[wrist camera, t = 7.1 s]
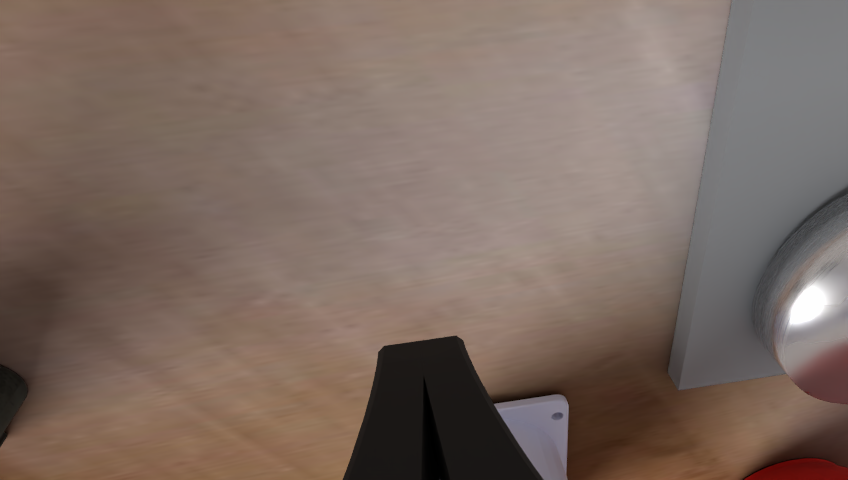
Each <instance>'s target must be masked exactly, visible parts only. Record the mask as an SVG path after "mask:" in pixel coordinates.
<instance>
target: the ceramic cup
mask: <svg viewBox="0 0 848 480" xmlns="http://www.w3.org/2000/svg"><path fill="white" fill-rule="evenodd" d="M744 480H848V468H846V467H842V466H838V465H836V464H834V463H833V462H830V461H827V460H823V459H817V458H804V459H796V460H790V461H786V462H782V463H778V464H775V465H772V466H769V467H767V468H764V469H762V470H760V471H758V472H756V473H754V474H752V475H751V476H749V477H747V478H746V479H744Z"/></svg>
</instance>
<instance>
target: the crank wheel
mask: <svg viewBox="0 0 848 480" xmlns="http://www.w3.org/2000/svg"><path fill="white" fill-rule="evenodd" d="M752 323H753V328H754V331H755V334H756V336H757V338H758V339H759V341H760V343H761V344H762V345H763V346H764V348H765V349H766V350H767V351H768V352H769V353H770V355H771V356H772V357H773V358H774V359H775V361H776V362H777V363H778V364H779V365H780V366H781V368H782V369H783V370H784V371H785V372H786V374H787V375H788V376H789V377H790V378H791V379H792V381H793V382H794V383H795V384H796V385H797V386H798V387H799V388H800V389H801V390H803V391H804V392H805V393H807V394H808V395H810V396H813V397H815V398H817V399H820V400H824V401H827V402H832V403H840V404H848V193H847V194H845V195H843V196H841V197H840V198H838V199H836V200H835V201H833V202H832V203H830V204H829V205H827V206H826V207H825V208H823V209H822V210H820V211H819V212H817V213H816V214H815V215H814V216H813V217H811V218H810V219H809V220H808V221H806V222H805V223H804V224H803V225H802V226H801V227H800V228H799V229H798V230H797V231H796V232H795V233H794V234H793V235H791V236H790V237H789V239H788V240H787V241H786V242H785V243H784V244H783V246H782V247H781V248H780V249H779V250H778V251H777V253H776V254H775V256H774V257H773V258H772V260H771V261H770V263H769V264H768V266H767V268H766V269H765V271H764V273H763V275H762V277H761V279H760V281H759V284H758V286H757V289H756V291H755V295H754V299H753V303H752Z"/></svg>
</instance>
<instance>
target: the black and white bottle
mask: <svg viewBox="0 0 848 480" xmlns="http://www.w3.org/2000/svg"><path fill="white" fill-rule="evenodd" d="M26 396H27V386H26V384H25V382H24V381H23V379H22V378H21V377H19V376H18V375H17V374H16V373H14V372H13V371H11V370H9V369H7V368H5V367H2V366H0V447H1V445H2V444H3V442H4V440H5V439H6V437H7V434H6V433H4V431H5V429H6V428H7V426H8V425H9V423H10V421H11V420H12V418H13V417H14V415H15V414H16V412H17V411H18V409H19V408H20V406H21V404H22V403H23V401H24V400H25V398H26Z"/></svg>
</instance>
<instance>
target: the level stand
mask: <svg viewBox="0 0 848 480" xmlns="http://www.w3.org/2000/svg"><path fill="white" fill-rule="evenodd" d="M847 193H848V0H732V3H731V9H730V15H729V21H728V26H727V32H726V38H725V44H724V50H723V55H722V61H721V67H720V73H719V78H718V84H717V90H716V96H715V102H714V107H713V113H712V119H711V125H710V130H709V136H708V142H707V148H706V154H705V159H704V165H703V171H702V177H701V183H700V188H699V194H698V200H697V206H696V211H695V217H694V223H693V229H692V235H691V240H690V246H689V252H688V258H687V263H686V269H685V275H684V281H683V287H682V292H681V298H680V304H679V310H678V315H677V321H676V327H675V333H674V339H673V344H672V350H671V356H670V362H669V367H668V374H669V376H670V378H671V379H672V381H673V382H674V384H675V386H676V387H677V389H678V390H685V389H691V388H698V387H704V386H711V385H717V384H724V383H730V382H737V381H743V380H750V379H756V378H763V377H769V376H776V375H782V374H786V372H785V371H784V370H783V369H782V368H781V366H780V365H779V364H778V363H777V362H776V361H775V359H774V358H773V357H772V356H771V355H770V353H769V352H768V351H767V350H766V349H765V348H764V346H763V345H762V344H761V343H760V341H759V339H758V338H757V336H756V334H755V331H754V328H753V323H752V303H753V299H754V295H755V291H756V289H757V286H758V284H759V281H760V279H761V277H762V275H763V273H764V271H765V269H766V268H767V266H768V264H769V263H770V261H771V260H772V258H773V257H774V256H775V254H776V253H777V251H778V250H779V249H780V248H781V247H782V246H783V244H784V243H785V242H786V241H787V240H788V239H789V237H790V236H791V235H793V234H794V233H795V232H796V231H797V230H798V229H799V228H800V227H801V226H802V225H803V224H804V223H805V222H806V221H808V220H809V219H810V218H811V217H813V216H814V215H815V214H816V213H817V212H819V211H820V210H822V209H823V208H825V207H826V206H827V205H829V204H830V203H832V202H833V201H835V200H836V199H838V198H840V197H841V196H843V195H845V194H847Z"/></svg>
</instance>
